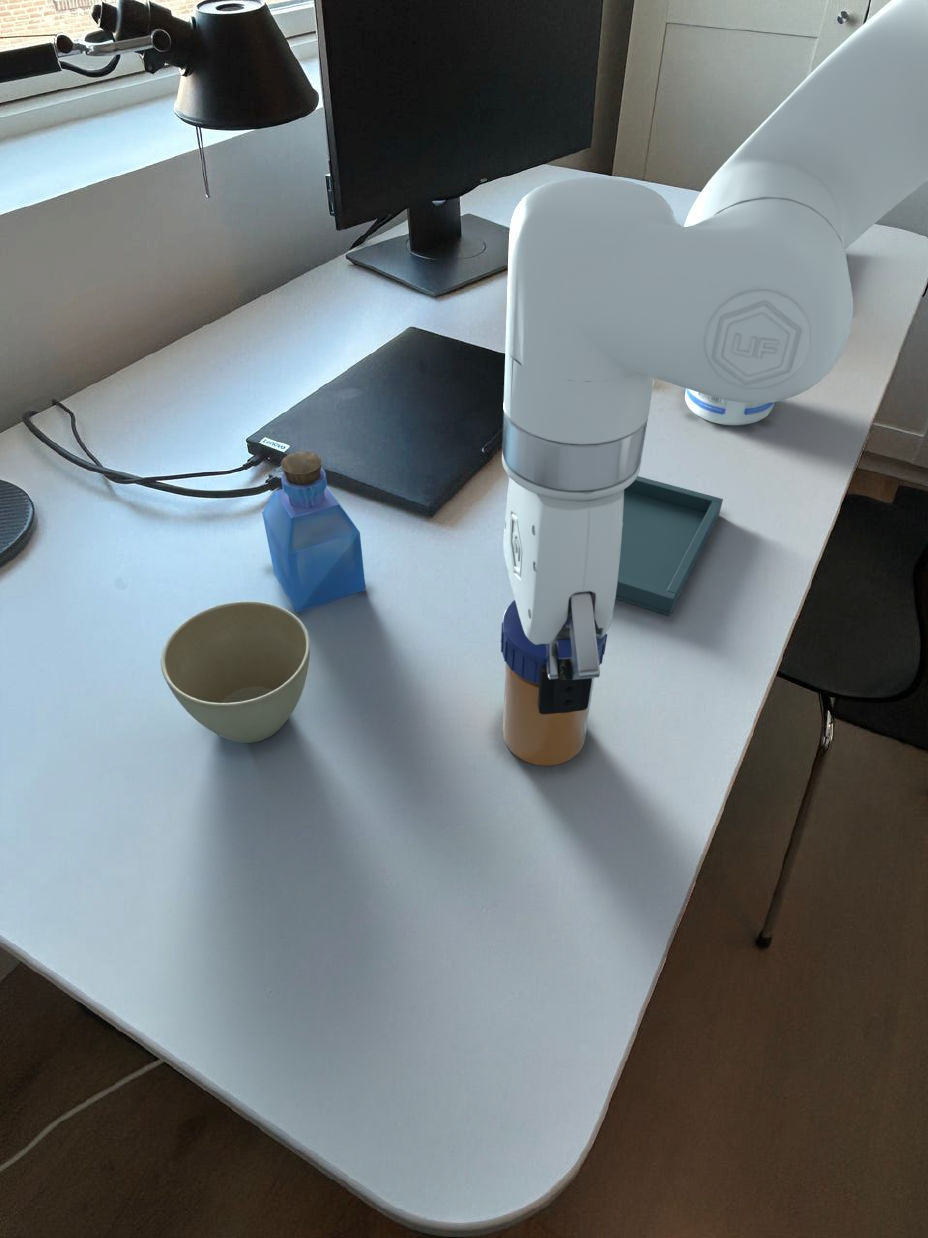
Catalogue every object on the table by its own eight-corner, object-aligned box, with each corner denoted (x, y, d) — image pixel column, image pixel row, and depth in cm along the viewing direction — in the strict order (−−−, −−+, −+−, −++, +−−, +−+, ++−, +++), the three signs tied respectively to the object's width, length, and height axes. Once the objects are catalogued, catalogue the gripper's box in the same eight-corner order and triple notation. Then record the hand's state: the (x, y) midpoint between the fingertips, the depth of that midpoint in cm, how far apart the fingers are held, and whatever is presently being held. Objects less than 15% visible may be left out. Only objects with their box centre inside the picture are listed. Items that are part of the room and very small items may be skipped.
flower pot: (212, 794, 60) (189, 727, 55) (165, 700, 66) (141, 632, 61) (344, 733, 64) (334, 666, 59) (288, 650, 70) (274, 582, 65)
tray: (584, 477, 87) (586, 461, 86) (719, 515, 83) (723, 498, 82) (520, 568, 77) (521, 551, 76) (669, 616, 73) (673, 599, 72)
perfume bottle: (273, 569, 77) (250, 452, 69) (339, 549, 79) (324, 433, 71) (297, 612, 73) (275, 493, 65) (365, 589, 75) (353, 472, 67)
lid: (500, 686, 56) (501, 659, 54) (501, 613, 60) (502, 586, 59) (607, 689, 55) (612, 661, 54) (599, 616, 60) (603, 588, 59)
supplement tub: (761, 385, 101) (794, 256, 91) (780, 429, 94) (818, 295, 84) (676, 384, 101) (699, 255, 91) (689, 428, 94) (716, 294, 84)
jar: (560, 692, 67) (571, 592, 60) (600, 749, 63) (617, 649, 56) (489, 716, 65) (492, 616, 58) (525, 777, 61) (533, 677, 54)
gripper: (479, 365, 53) (477, 588, 65) (534, 544, 40) (518, 778, 53) (601, 357, 53) (576, 579, 66) (692, 531, 41) (640, 765, 53)
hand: (550, 666), depth 59 cm, fingers closed on lid, 6 cm apart
